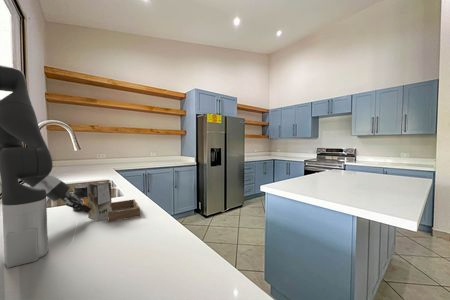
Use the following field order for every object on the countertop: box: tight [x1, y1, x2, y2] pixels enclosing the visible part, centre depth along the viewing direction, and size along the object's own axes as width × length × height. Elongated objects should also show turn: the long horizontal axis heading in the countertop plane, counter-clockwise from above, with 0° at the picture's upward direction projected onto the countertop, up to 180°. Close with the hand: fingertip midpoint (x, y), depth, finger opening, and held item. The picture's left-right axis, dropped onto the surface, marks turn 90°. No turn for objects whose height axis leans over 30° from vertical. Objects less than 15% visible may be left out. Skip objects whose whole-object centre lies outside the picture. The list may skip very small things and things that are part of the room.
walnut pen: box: [107, 199, 141, 223], centre depth 94 cm, size 17×13×4 cm
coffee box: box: [86, 180, 113, 221], centre depth 90 cm, size 9×6×16 cm
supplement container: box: [72, 183, 88, 212], centre depth 102 cm, size 10×10×12 cm
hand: (89, 211), depth 87 cm, fingers closed
